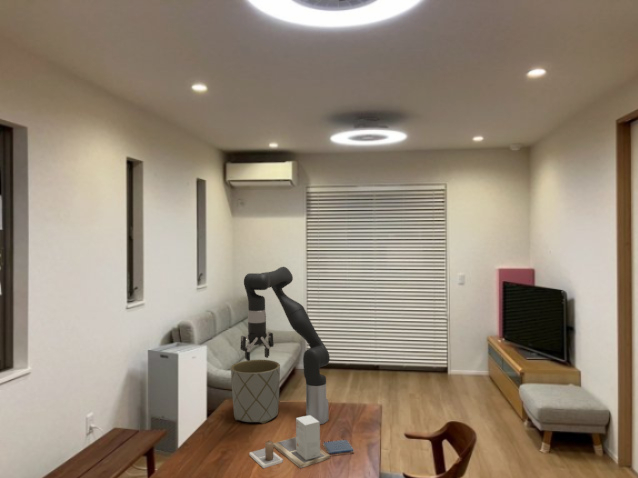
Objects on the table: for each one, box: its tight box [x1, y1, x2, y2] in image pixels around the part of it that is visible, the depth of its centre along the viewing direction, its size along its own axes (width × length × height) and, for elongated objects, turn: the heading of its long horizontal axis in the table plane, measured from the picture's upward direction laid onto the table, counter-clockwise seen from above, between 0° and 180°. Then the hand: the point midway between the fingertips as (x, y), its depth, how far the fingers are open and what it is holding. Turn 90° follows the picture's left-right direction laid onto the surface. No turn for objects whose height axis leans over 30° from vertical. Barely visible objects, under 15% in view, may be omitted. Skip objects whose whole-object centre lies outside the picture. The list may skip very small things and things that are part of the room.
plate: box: [248, 440, 284, 469], centre depth 173 cm, size 8×12×7 cm, turn 33°
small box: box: [295, 415, 321, 460], centre depth 174 cm, size 8×6×13 cm
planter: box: [230, 359, 281, 424], centre depth 215 cm, size 23×23×24 cm
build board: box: [273, 436, 331, 469], centre depth 178 cm, size 13×21×1 cm, turn 33°
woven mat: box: [322, 439, 355, 457], centre depth 181 cm, size 10×11×2 cm
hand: (257, 358), depth 195 cm, fingers open, 8 cm apart
